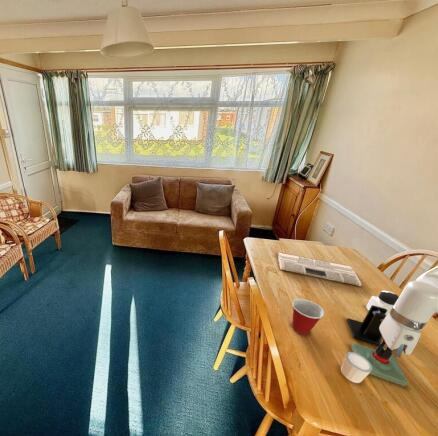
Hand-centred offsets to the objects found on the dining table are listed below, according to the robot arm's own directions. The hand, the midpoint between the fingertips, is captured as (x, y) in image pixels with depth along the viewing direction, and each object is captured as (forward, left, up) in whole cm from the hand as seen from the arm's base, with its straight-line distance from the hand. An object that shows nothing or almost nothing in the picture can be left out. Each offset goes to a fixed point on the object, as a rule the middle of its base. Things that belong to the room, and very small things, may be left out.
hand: (381, 355), depth 80 cm
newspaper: (+11, -57, -6) cm, 58 cm away
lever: (-6, -15, +2) cm, 16 cm away
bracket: (-2, -15, -5) cm, 16 cm away
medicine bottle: (-10, -30, -6) cm, 32 cm away
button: (0, 0, -2) cm, 2 cm away
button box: (0, 0, -5) cm, 5 cm away
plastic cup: (+23, -6, -6) cm, 24 cm away
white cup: (+9, +8, -6) cm, 13 cm away
